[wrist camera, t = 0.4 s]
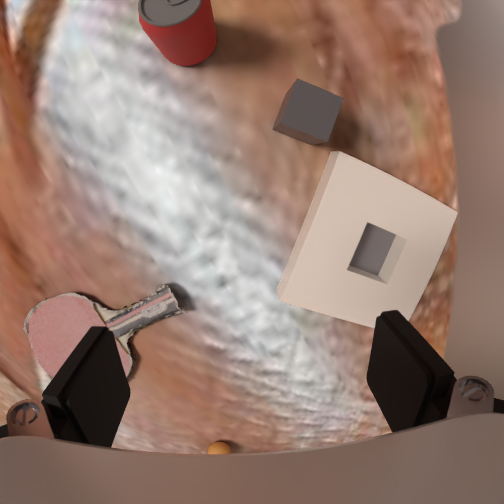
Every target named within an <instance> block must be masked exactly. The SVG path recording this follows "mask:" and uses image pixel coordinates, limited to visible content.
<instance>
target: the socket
mask: <svg viewBox="0 0 504 504" xmlns="http://www.w3.org/2000/svg"><path fill="white" fill-rule="evenodd" d="M457 214H458V212H456V211H454V210H453V209H451V208H449V207H448V206H446V205H444V204H442V203H441V202H439V201H437V200H435V199H434V198H432V197H430V196H428V195H427V194H425V193H423V192H421V191H419V190H418V189H416V188H414V187H412V186H410V185H408V184H406V183H405V182H403V181H401V180H399V179H397V178H395V177H393V176H391V175H389V174H387V173H385V172H383V171H381V170H379V169H377V168H375V167H373V166H371V165H369V164H367V163H365V162H362V161H360V160H358V159H356V158H354V157H352V156H350V155H347V154H345V153H343V152H341V151H331V153H330V155H329V158H328V161H327V163H326V166H325V169H324V171H323V174H322V176H321V179H320V182H319V184H318V187H317V189H316V192H315V195H314V197H313V200H312V202H311V205H310V208H309V210H308V213H307V215H306V218H305V220H304V223H303V225H302V228H301V230H300V233H299V235H298V238H297V240H296V243H295V245H294V248H293V250H292V253H291V255H290V258H289V260H288V262H287V265H286V267H285V270H284V272H283V275H282V277H281V279H280V282H279V284H278V287H277V292H278V296H279V300H280V301H282V302H285V303H288V304H292V305H295V306H298V307H302V308H305V309H308V310H312V311H315V312H319V313H322V314H326V315H329V316H332V317H336V318H339V319H343V320H347V321H350V322H354V323H357V324H361V325H364V326H368V327H372V328H375V323H376V318H377V317H378V316H380V315H381V313H382V312H383V311H391V310H398V311H399V312H400V313H401V314H402V315H403V316H404V317H405V318H406V319H407V320H408V321H409V319H410V317H411V315H412V314H413V312H414V310H415V308H416V306H417V304H418V302H419V300H420V298H421V296H422V294H423V292H424V290H425V288H426V286H427V284H428V282H429V280H430V278H431V276H432V273H433V271H434V269H435V267H436V265H437V262H438V260H439V258H440V256H441V253H442V251H443V249H444V246H445V244H446V242H447V239H448V237H449V234H450V232H451V229H452V227H453V224H454V222H455V219H456V216H457Z"/></svg>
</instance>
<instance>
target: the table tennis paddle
mask: <svg viewBox="0 0 504 504" xmlns="http://www.w3.org/2000/svg"><path fill="white" fill-rule="evenodd" d="M98 303H99V302H98ZM98 303H96V302H92V300H90V301H89V300H88V299H87V297H85V296H81V295H79V294H76V293H66V294H62V295H59V296H56V297H53V298H50V299H47V298H46V299H45V300H44V301H41V302H40V303H39V304H38V305H35V306H34V307H33V308H32V309H31V311H30V312H28V315H27V317H26V318H25V321H24V323H23V325H24V327H23V330H24V332H26V334H27V336H28V340H30V345H31V348H32V350H33V351H34V354H35V356H36V358H37V360H38V361H39V364H40V365H41V366H42V368H43V369H44V370H45V371H46V372H47V374H48V377H49V378H50V379H51V380H52V379H53V378H54V376H55V375H56V373H57V372H58V371H59V369H60V368H61V366H62V365H63V364H64V362H65V361H66V359H67V358H68V357H69V355H70V354H71V353H72V351H73V350H74V349H75V347H76V346H77V345H78V343H79V342H80V341H81V339H82V338H83V337H84V335H85V334H86V333H87V331H88V330H89V329H90V327H92V326H106V327H108V329H109V330H111V331H112V332H113V334H114V337H115V341H116V344H117V348H118V351H119V355H120V358H121V361H122V365H123V368H124V371H125V375H126V378H127V377H128V376H130V375H131V374H132V372H133V369H131V371H130V368H132V364H133V367H135V360H132V359H133V353H132V356H131V355H130V351H132V350H129V349H128V346H127V342H128V344H129V346H130V343H129V341H128V338H129V339H130V337H131V336H133V335H134V334H135V333H136V332H137V331H138V330H139V329H141V328H143V327H145V326H146V325H149V324H151V323H153V322H156V321H158V320H161V319H164V318H167V317H170V316H173V315H176V314H180V313H187V312H186V311H185V309H183V307H184V306H181V307H179V308H178V305H179V304H178V302H177V300H176V298H175V297H174V295H173V293H171V290H170V288H168V284H163V285H162V284H160V285H158V286H157V290H156V291H155V292H154V293H153V294H152V295H151V296H150V297H146V298H145V299H144V300H143V301H142V300H140V302H136V303H137V304H136V303H133V304H131V305H132V306H130V307H127V306H125V307H124V308H123V309H124V310H123V309H122V310H118V311H116V310H115V311H113V310H112V311H111V310H107V308H104V307H105V306H102V304H101V303H100V305H99V304H98ZM100 306H101V307H100ZM102 307H103V308H102ZM129 348H130V349H131V346H130V347H129ZM131 357H132V358H131ZM134 358H135V356H134ZM132 362H133V363H132Z"/></svg>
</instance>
